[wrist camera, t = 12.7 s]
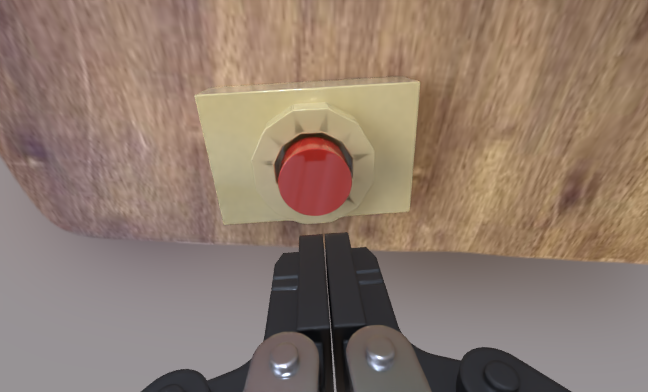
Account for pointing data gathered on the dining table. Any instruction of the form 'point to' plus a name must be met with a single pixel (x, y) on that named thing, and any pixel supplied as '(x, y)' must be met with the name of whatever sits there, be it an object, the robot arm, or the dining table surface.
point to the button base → (310, 121)
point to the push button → (314, 176)
